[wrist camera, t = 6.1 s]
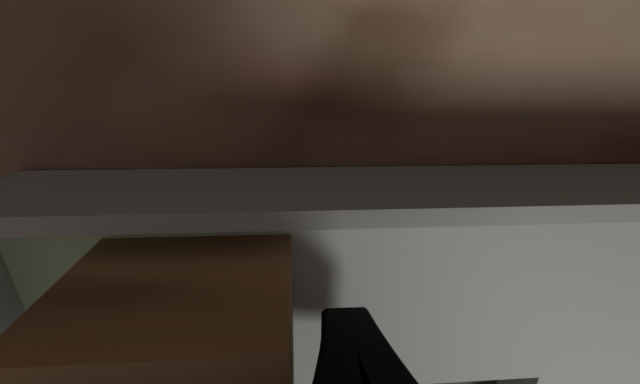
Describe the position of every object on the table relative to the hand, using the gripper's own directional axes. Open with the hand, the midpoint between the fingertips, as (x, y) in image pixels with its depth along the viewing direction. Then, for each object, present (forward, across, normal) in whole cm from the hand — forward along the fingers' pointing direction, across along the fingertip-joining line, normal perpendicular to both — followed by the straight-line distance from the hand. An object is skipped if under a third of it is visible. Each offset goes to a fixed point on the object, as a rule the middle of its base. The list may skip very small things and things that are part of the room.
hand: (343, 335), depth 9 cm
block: (+1, +4, 0) cm, 4 cm away
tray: (+3, -2, +4) cm, 5 cm away
